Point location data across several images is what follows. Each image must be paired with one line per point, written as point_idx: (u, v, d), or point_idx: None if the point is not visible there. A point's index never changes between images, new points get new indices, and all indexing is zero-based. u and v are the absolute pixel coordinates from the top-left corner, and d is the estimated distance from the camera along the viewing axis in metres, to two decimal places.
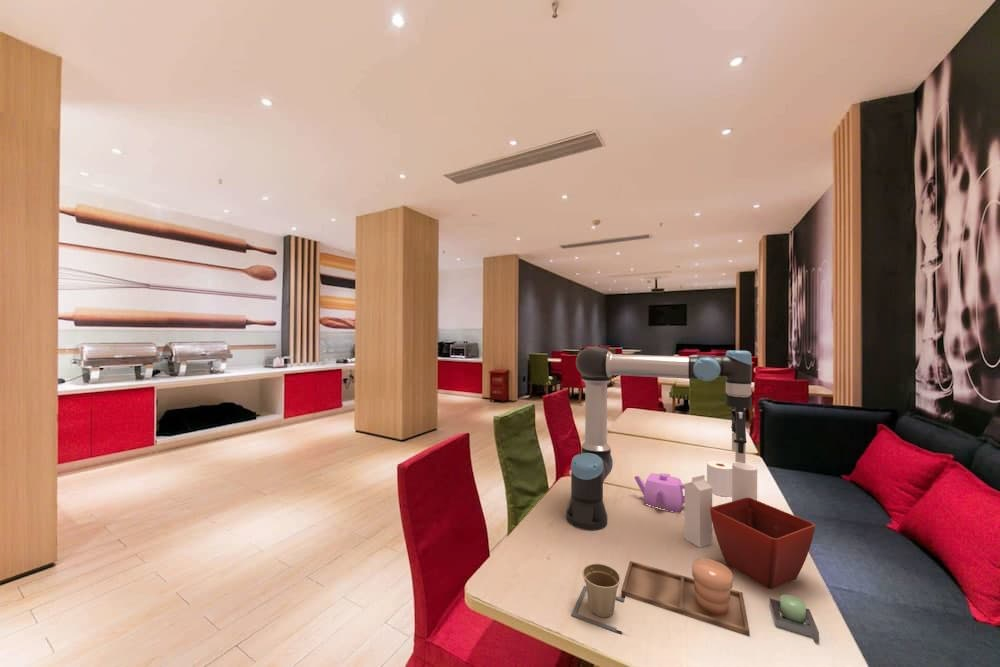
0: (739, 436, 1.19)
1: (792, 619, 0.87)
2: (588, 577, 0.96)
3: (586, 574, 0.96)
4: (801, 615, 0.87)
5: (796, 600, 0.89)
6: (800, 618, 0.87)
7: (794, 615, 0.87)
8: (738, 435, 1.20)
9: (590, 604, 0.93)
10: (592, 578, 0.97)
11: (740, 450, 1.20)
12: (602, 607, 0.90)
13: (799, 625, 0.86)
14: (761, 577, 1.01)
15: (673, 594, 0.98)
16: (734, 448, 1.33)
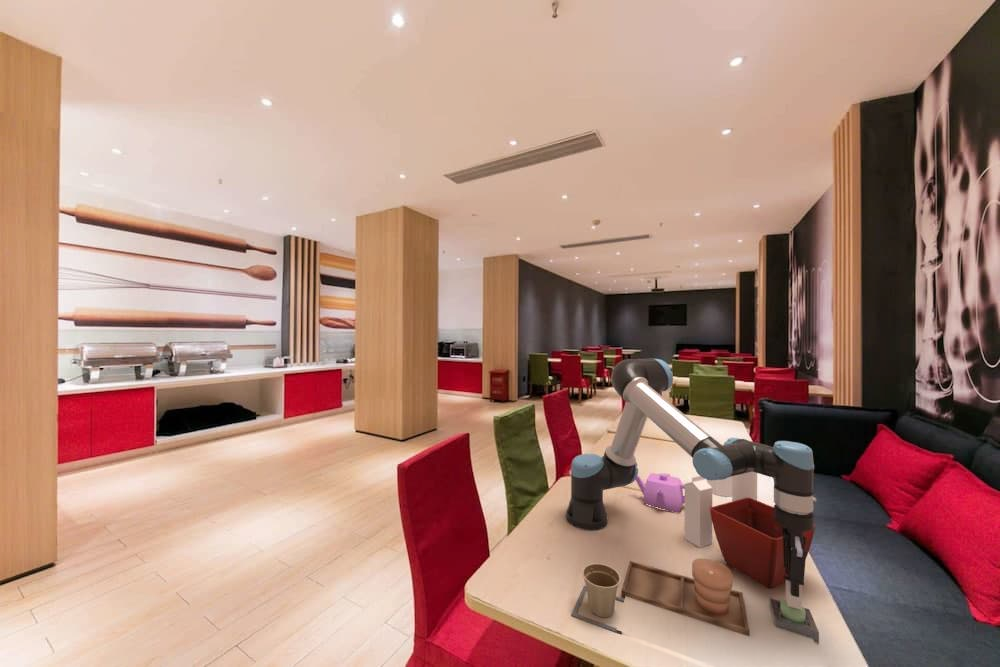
0: (794, 578, 0.86)
1: None
2: (588, 577, 0.96)
3: (586, 574, 0.96)
4: (801, 620, 0.87)
5: None
6: None
7: (794, 620, 0.87)
8: (793, 576, 0.86)
9: (590, 604, 0.93)
10: (592, 578, 0.97)
11: (794, 592, 0.87)
12: (602, 607, 0.90)
13: (799, 625, 0.86)
14: (761, 577, 1.01)
15: (673, 594, 0.98)
16: None
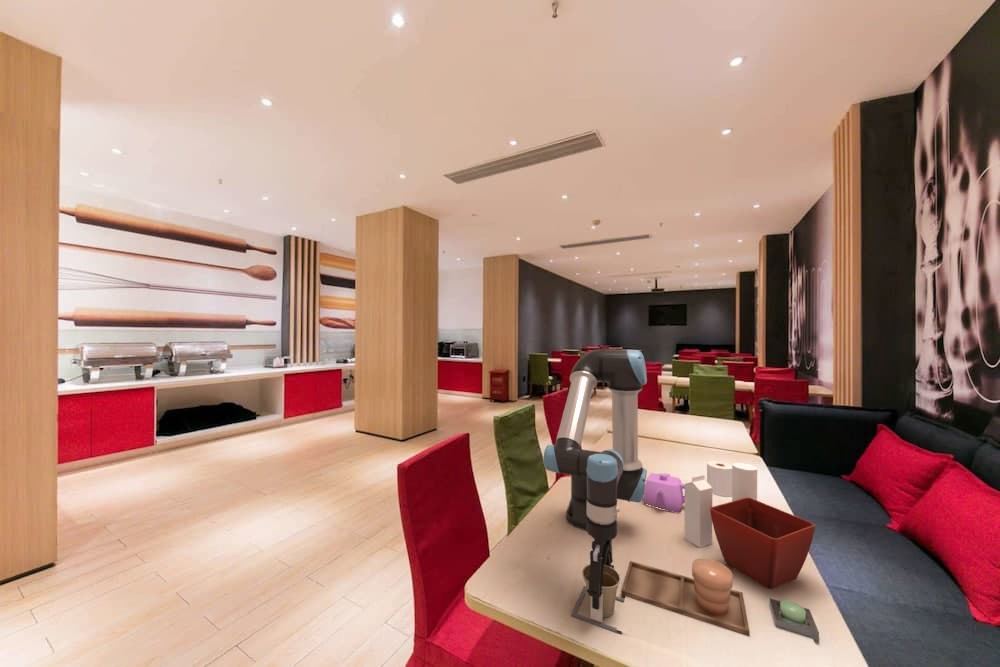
0: (591, 588, 0.87)
1: None
2: (588, 577, 0.96)
3: (586, 574, 0.96)
4: (801, 621, 0.87)
5: (796, 606, 0.89)
6: None
7: (794, 621, 0.87)
8: (590, 587, 0.87)
9: (590, 604, 0.93)
10: None
11: (594, 605, 0.88)
12: None
13: (799, 625, 0.86)
14: (761, 577, 1.01)
15: (673, 594, 0.98)
16: None
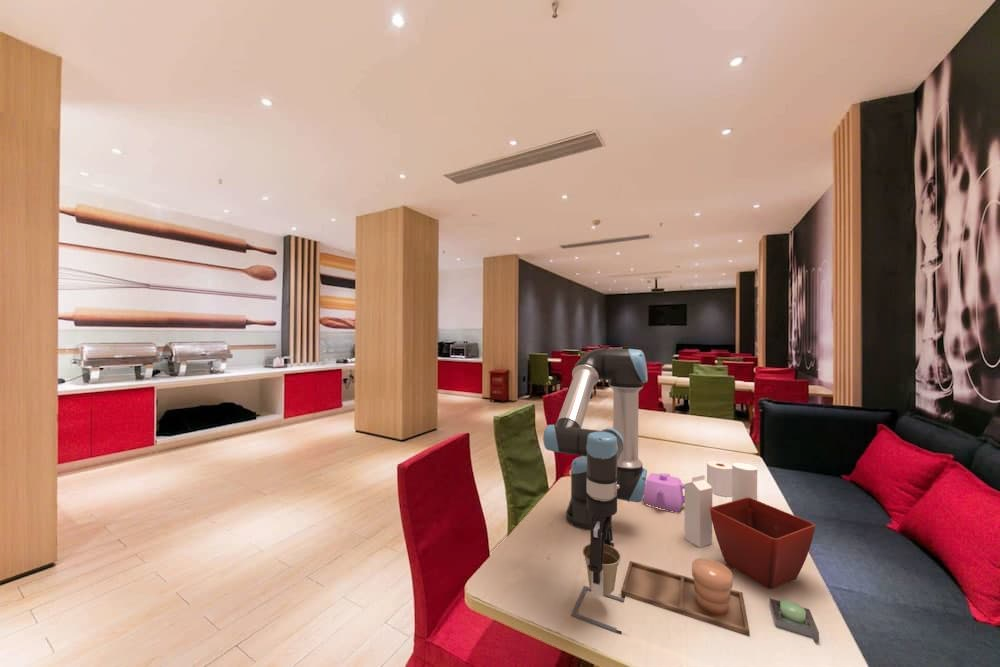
0: (592, 563, 0.88)
1: None
2: (588, 556, 0.97)
3: (586, 553, 0.97)
4: (801, 621, 0.87)
5: (796, 606, 0.89)
6: None
7: (794, 621, 0.87)
8: (591, 562, 0.88)
9: (590, 582, 0.93)
10: None
11: (595, 580, 0.89)
12: None
13: (799, 625, 0.86)
14: (761, 577, 1.01)
15: (673, 594, 0.98)
16: None
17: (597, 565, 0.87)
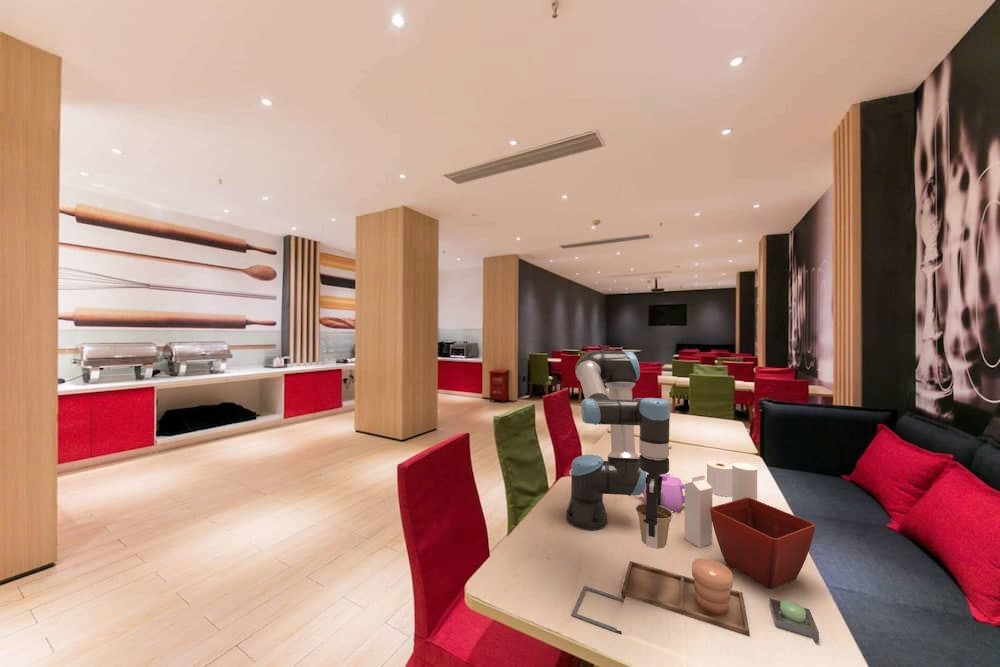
0: (648, 516, 0.94)
1: None
2: None
3: (638, 512, 1.03)
4: (801, 621, 0.87)
5: (796, 606, 0.89)
6: None
7: (794, 621, 0.87)
8: (647, 515, 0.95)
9: (644, 537, 0.99)
10: None
11: (650, 533, 0.95)
12: None
13: (799, 625, 0.86)
14: (761, 577, 1.01)
15: (673, 594, 0.98)
16: None
17: (653, 518, 0.94)
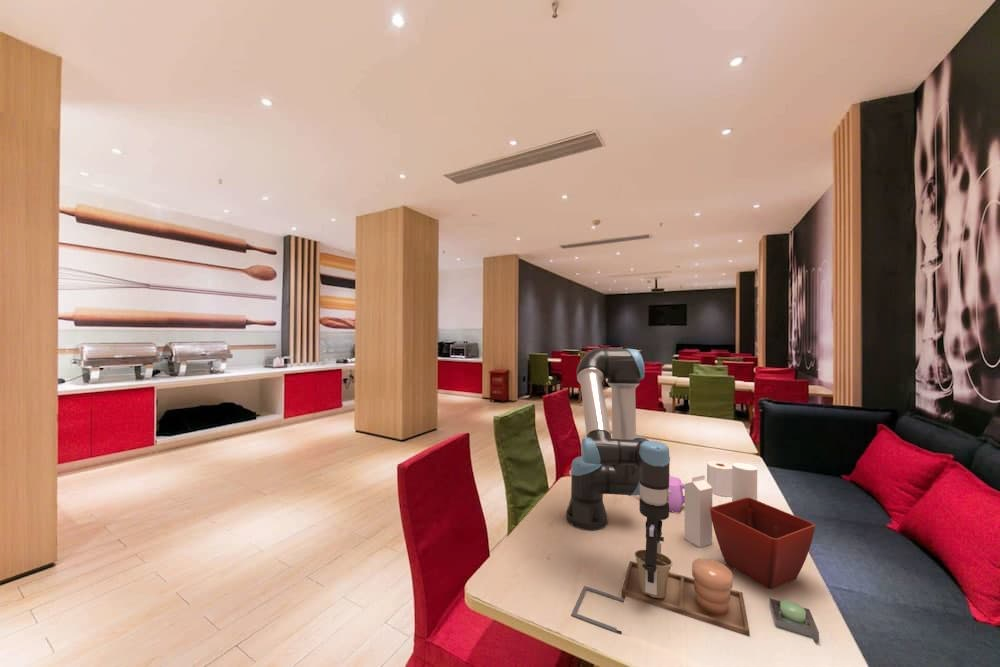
0: (647, 562, 0.93)
1: None
2: None
3: (637, 558, 1.01)
4: (801, 621, 0.87)
5: (796, 606, 0.89)
6: None
7: (794, 621, 0.87)
8: (646, 560, 0.93)
9: (643, 585, 0.97)
10: None
11: (649, 579, 0.94)
12: None
13: (799, 625, 0.86)
14: (761, 577, 1.01)
15: (673, 594, 0.98)
16: None
17: (653, 563, 0.92)
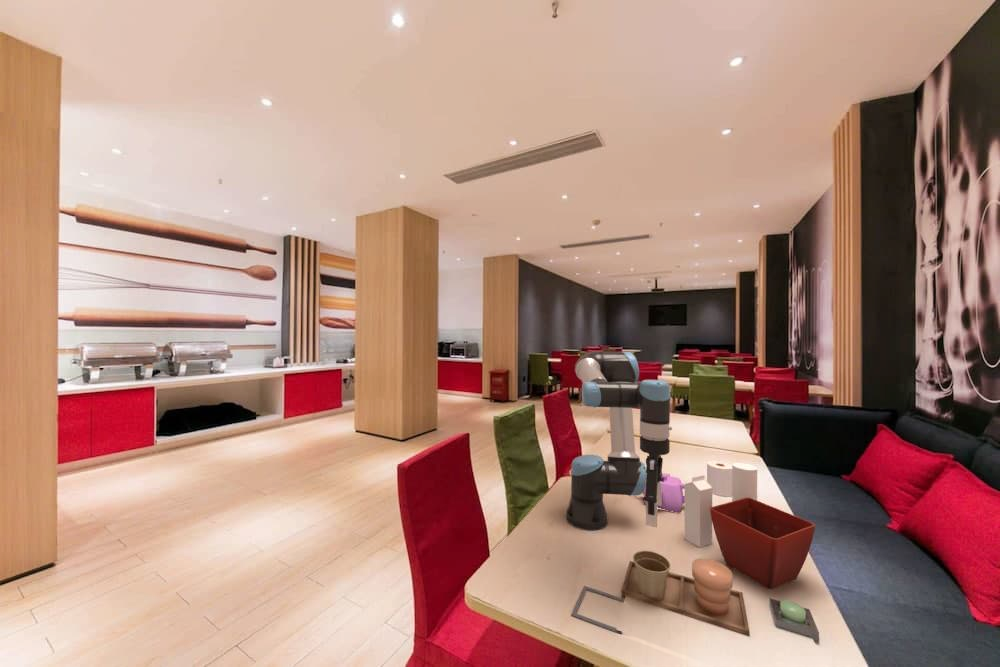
0: (648, 493, 0.93)
1: None
2: (637, 563, 1.01)
3: (636, 561, 1.01)
4: (801, 621, 0.87)
5: (796, 606, 0.89)
6: None
7: (794, 621, 0.87)
8: (647, 492, 0.93)
9: (642, 589, 0.97)
10: (641, 564, 1.02)
11: (650, 511, 0.94)
12: (654, 591, 0.95)
13: (799, 625, 0.86)
14: (761, 577, 1.01)
15: (673, 594, 0.98)
16: None
17: (653, 494, 0.92)
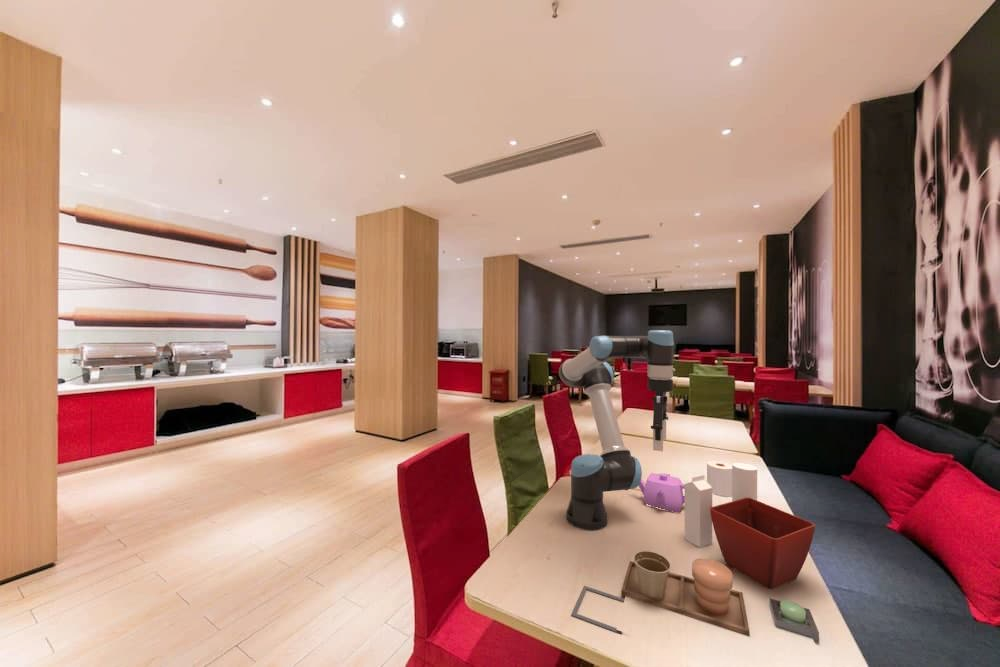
0: (655, 422, 1.10)
1: None
2: (638, 563, 1.01)
3: (636, 561, 1.01)
4: (801, 621, 0.87)
5: (796, 606, 0.89)
6: None
7: (794, 621, 0.87)
8: (654, 420, 1.10)
9: (642, 589, 0.97)
10: (641, 564, 1.02)
11: (657, 437, 1.10)
12: (655, 591, 0.95)
13: (799, 625, 0.86)
14: (761, 577, 1.01)
15: (673, 594, 0.98)
16: None
17: (660, 422, 1.09)
